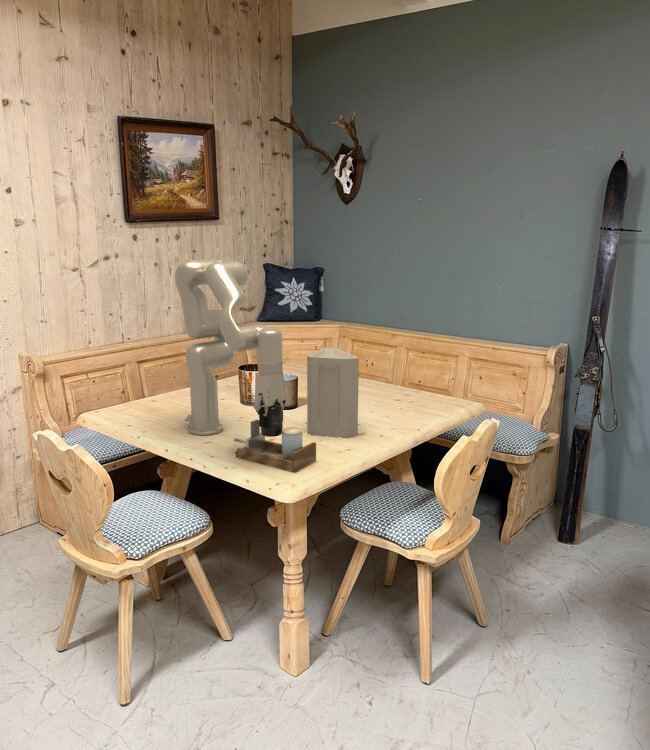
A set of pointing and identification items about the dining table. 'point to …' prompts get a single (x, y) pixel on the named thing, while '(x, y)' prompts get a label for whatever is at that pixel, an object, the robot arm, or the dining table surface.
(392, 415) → the dining table surface
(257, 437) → the pusher
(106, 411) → the dining table surface
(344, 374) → the grey corner cabinet
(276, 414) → the supplement bottle
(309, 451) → the brown wooden open box
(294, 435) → the blue jar
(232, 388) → the dining table surface
